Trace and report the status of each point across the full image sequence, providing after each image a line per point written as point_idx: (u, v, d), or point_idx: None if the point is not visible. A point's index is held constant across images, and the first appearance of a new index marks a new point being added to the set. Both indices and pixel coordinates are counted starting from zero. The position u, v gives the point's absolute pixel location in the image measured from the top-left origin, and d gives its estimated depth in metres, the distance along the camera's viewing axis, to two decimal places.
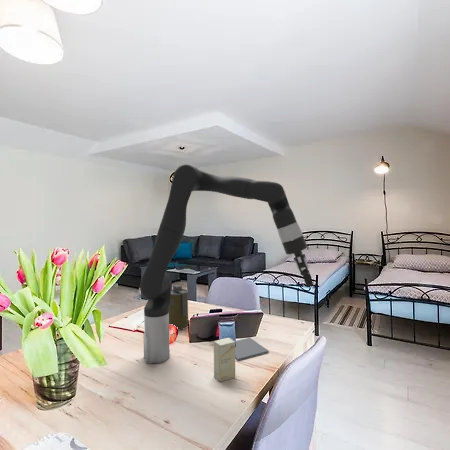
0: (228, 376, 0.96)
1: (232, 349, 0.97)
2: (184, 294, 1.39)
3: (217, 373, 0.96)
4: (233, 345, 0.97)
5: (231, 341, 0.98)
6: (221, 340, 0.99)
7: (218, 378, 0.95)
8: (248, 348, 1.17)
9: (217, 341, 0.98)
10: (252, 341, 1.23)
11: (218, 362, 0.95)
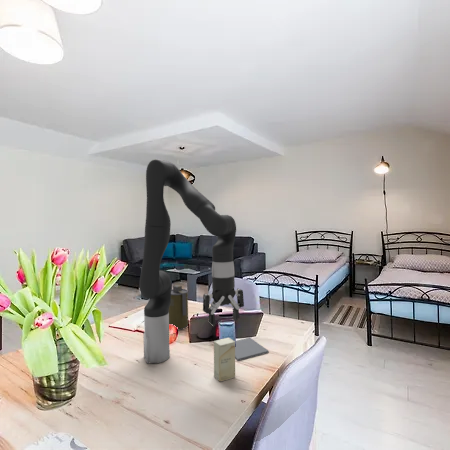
0: (228, 376, 0.96)
1: (232, 349, 0.97)
2: (184, 294, 1.39)
3: (217, 373, 0.96)
4: (233, 345, 0.97)
5: (231, 341, 0.98)
6: (221, 340, 0.99)
7: (218, 378, 0.95)
8: (248, 348, 1.17)
9: (217, 341, 0.98)
10: (252, 341, 1.23)
11: (218, 362, 0.95)
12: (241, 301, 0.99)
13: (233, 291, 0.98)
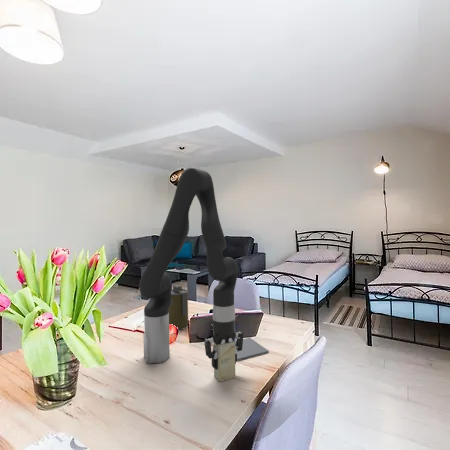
0: (228, 376, 0.96)
1: (232, 349, 0.97)
2: (184, 294, 1.39)
3: (217, 373, 0.96)
4: (233, 345, 0.97)
5: None
6: None
7: (218, 378, 0.95)
8: (248, 348, 1.17)
9: None
10: (252, 341, 1.23)
11: (218, 362, 0.95)
12: (240, 345, 0.99)
13: (234, 333, 0.98)
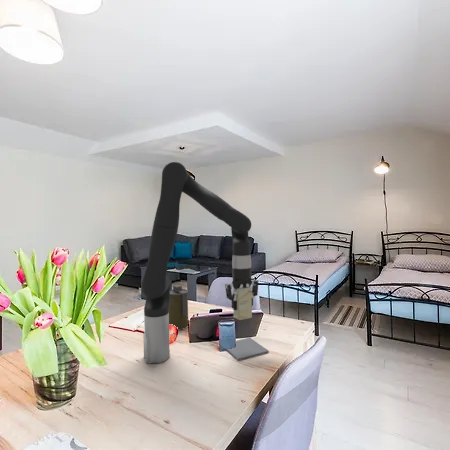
0: (246, 316, 1.13)
1: (249, 293, 1.13)
2: (184, 294, 1.39)
3: (236, 313, 1.12)
4: (250, 290, 1.14)
5: None
6: None
7: (237, 317, 1.12)
8: (248, 348, 1.17)
9: None
10: (252, 341, 1.23)
11: (237, 303, 1.12)
12: (255, 290, 1.16)
13: (250, 280, 1.15)
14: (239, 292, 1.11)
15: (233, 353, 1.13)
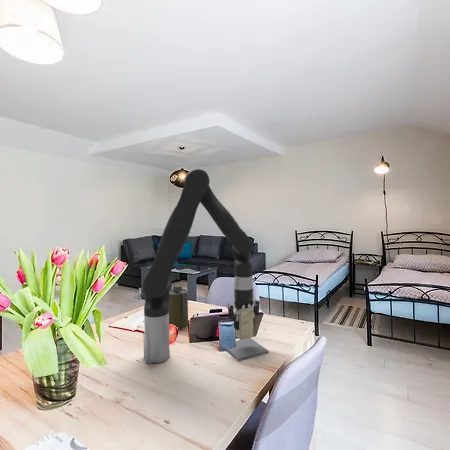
0: (247, 335, 1.16)
1: (251, 313, 1.16)
2: (184, 294, 1.39)
3: (239, 333, 1.15)
4: (252, 310, 1.17)
5: None
6: None
7: (239, 337, 1.15)
8: (248, 348, 1.17)
9: None
10: (252, 341, 1.23)
11: (239, 324, 1.15)
12: (257, 310, 1.19)
13: (252, 301, 1.18)
14: (241, 313, 1.14)
15: (233, 353, 1.13)
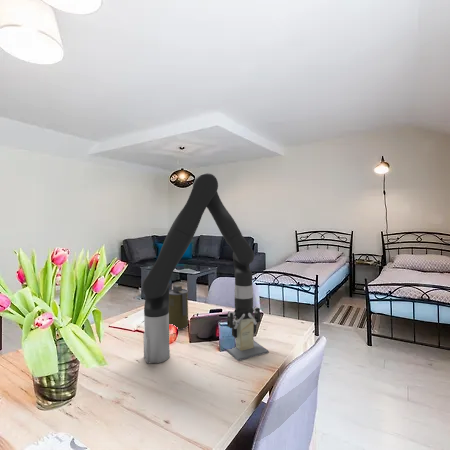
0: (248, 346, 1.16)
1: (251, 324, 1.17)
2: (184, 294, 1.39)
3: (239, 344, 1.16)
4: (252, 321, 1.17)
5: None
6: None
7: (239, 348, 1.15)
8: None
9: None
10: None
11: (239, 334, 1.15)
12: (258, 317, 1.19)
13: (252, 309, 1.18)
14: (241, 324, 1.15)
15: (233, 353, 1.13)
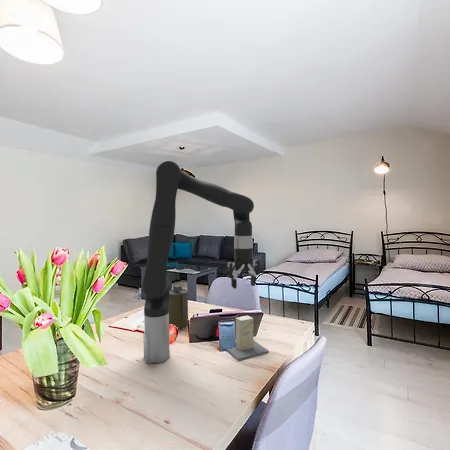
0: (248, 346, 1.16)
1: (251, 324, 1.17)
2: (184, 294, 1.39)
3: (239, 344, 1.16)
4: (252, 321, 1.17)
5: (250, 318, 1.17)
6: (241, 317, 1.18)
7: (239, 348, 1.15)
8: None
9: (238, 318, 1.18)
10: None
11: (239, 334, 1.15)
12: (258, 270, 1.19)
13: (251, 261, 1.17)
14: (241, 324, 1.15)
15: (233, 353, 1.13)
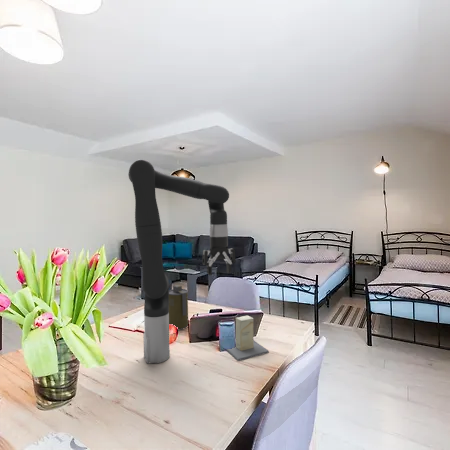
0: (248, 346, 1.16)
1: (251, 324, 1.17)
2: (184, 294, 1.39)
3: (239, 344, 1.16)
4: (252, 321, 1.17)
5: (250, 318, 1.17)
6: (241, 317, 1.18)
7: (239, 348, 1.15)
8: None
9: (238, 318, 1.18)
10: None
11: (239, 334, 1.15)
12: (233, 258, 1.22)
13: (227, 249, 1.21)
14: (241, 324, 1.15)
15: (233, 353, 1.13)
